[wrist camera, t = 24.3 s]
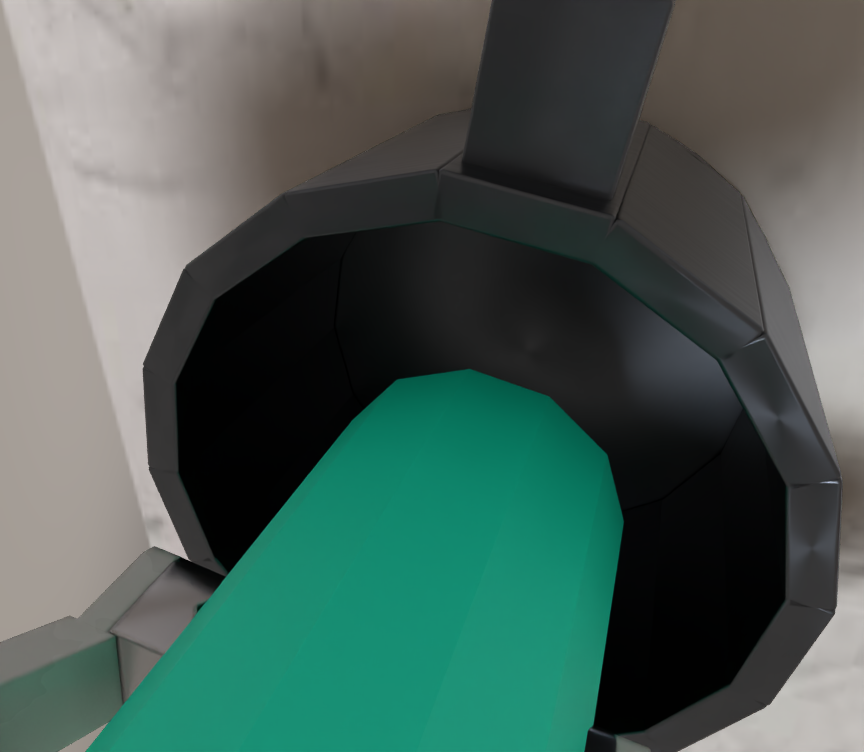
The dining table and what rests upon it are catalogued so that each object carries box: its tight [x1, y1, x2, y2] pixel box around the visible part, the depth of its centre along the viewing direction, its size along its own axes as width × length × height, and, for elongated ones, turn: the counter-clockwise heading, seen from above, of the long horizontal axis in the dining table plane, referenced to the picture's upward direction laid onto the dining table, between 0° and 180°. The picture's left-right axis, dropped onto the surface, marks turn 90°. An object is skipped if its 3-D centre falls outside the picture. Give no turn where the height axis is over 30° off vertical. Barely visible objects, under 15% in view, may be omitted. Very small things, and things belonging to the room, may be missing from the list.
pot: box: [143, 0, 843, 752], centre depth 17 cm, size 14×19×8 cm
